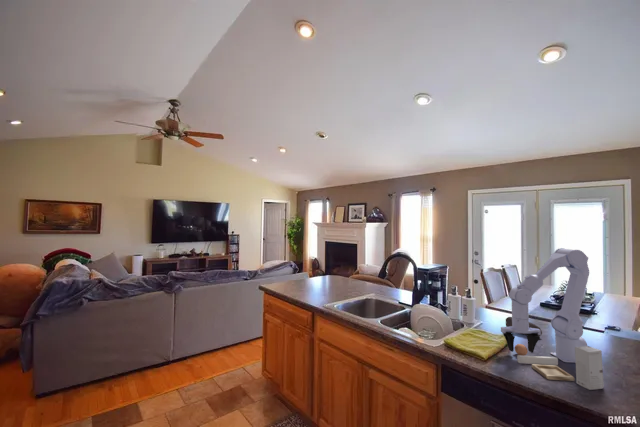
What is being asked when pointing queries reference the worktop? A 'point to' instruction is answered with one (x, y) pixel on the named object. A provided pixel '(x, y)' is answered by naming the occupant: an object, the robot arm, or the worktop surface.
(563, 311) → the robot arm
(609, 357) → the worktop surface
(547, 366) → the tray
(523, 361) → the bar
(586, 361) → the skincare box
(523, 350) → the ball
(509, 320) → the perforated stone tool
